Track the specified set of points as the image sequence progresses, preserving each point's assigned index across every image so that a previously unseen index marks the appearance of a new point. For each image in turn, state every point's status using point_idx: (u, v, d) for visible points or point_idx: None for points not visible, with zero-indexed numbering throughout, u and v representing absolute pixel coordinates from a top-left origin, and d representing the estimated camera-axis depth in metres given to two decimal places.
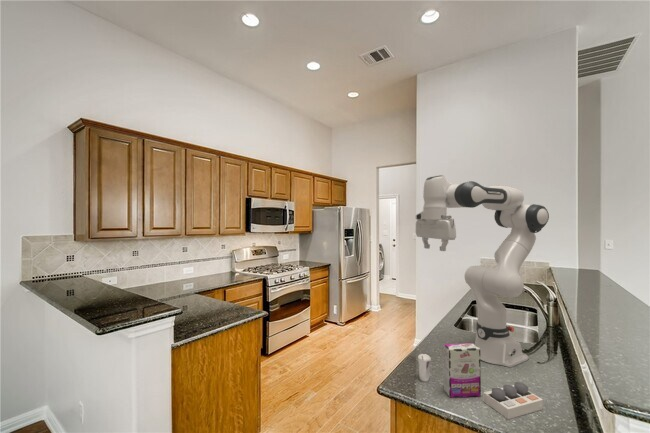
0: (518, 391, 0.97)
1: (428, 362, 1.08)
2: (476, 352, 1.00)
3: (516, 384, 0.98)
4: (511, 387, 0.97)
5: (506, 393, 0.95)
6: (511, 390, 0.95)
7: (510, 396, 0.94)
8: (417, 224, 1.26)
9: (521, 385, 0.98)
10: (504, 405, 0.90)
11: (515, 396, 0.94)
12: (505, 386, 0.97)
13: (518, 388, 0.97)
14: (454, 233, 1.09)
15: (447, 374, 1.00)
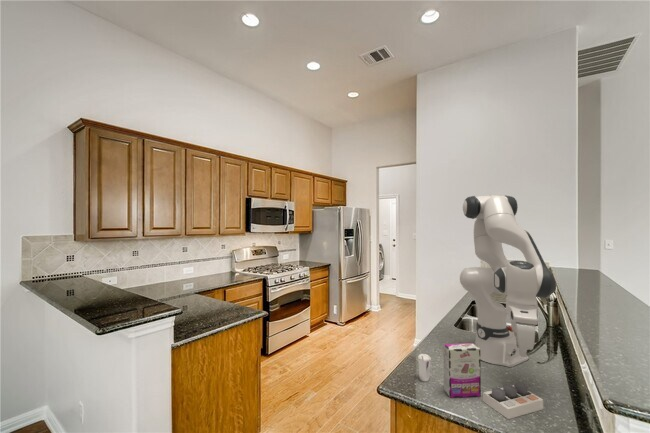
0: (518, 391, 0.97)
1: (428, 362, 1.08)
2: (476, 352, 1.00)
3: (516, 384, 0.98)
4: (511, 387, 0.97)
5: (506, 393, 0.95)
6: (511, 390, 0.95)
7: (510, 396, 0.94)
8: None
9: (521, 385, 0.98)
10: (504, 405, 0.90)
11: (515, 396, 0.94)
12: (505, 386, 0.97)
13: (518, 388, 0.97)
14: None
15: (447, 374, 1.00)
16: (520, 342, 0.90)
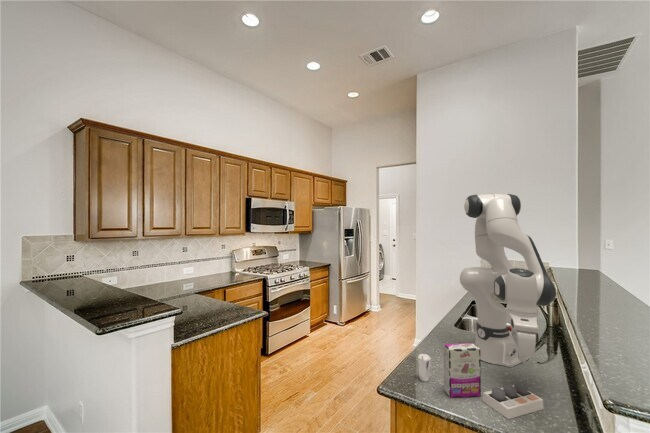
0: (518, 391, 0.97)
1: (428, 362, 1.08)
2: (476, 352, 1.00)
3: (516, 384, 0.98)
4: (511, 387, 0.97)
5: (506, 393, 0.95)
6: (511, 390, 0.95)
7: (510, 396, 0.94)
8: None
9: (521, 385, 0.98)
10: (504, 405, 0.90)
11: (515, 396, 0.94)
12: (505, 386, 0.97)
13: (518, 388, 0.97)
14: None
15: (447, 374, 1.00)
16: (521, 350, 0.89)
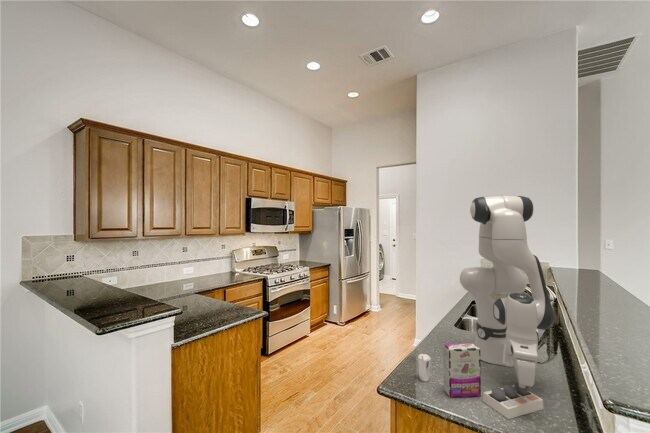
0: (518, 391, 0.97)
1: (428, 362, 1.08)
2: (476, 352, 1.00)
3: (516, 384, 0.98)
4: (511, 387, 0.97)
5: (506, 393, 0.95)
6: (511, 390, 0.95)
7: (510, 396, 0.94)
8: None
9: None
10: (504, 405, 0.90)
11: (515, 396, 0.94)
12: (505, 386, 0.97)
13: (518, 388, 0.97)
14: None
15: (447, 374, 1.00)
16: (520, 379, 0.89)
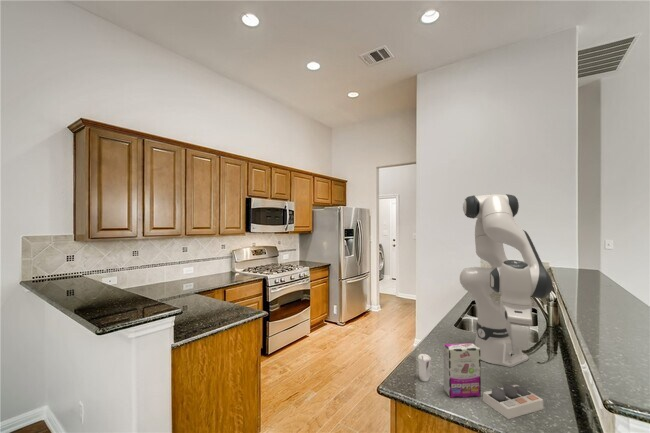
0: None
1: (428, 362, 1.08)
2: (476, 352, 1.00)
3: (516, 388, 0.98)
4: (511, 387, 0.97)
5: (506, 393, 0.95)
6: (511, 390, 0.95)
7: (510, 396, 0.94)
8: None
9: (521, 389, 0.98)
10: (504, 405, 0.90)
11: (515, 396, 0.94)
12: (505, 386, 0.97)
13: (518, 392, 0.97)
14: None
15: (447, 374, 1.00)
16: (514, 342, 0.88)
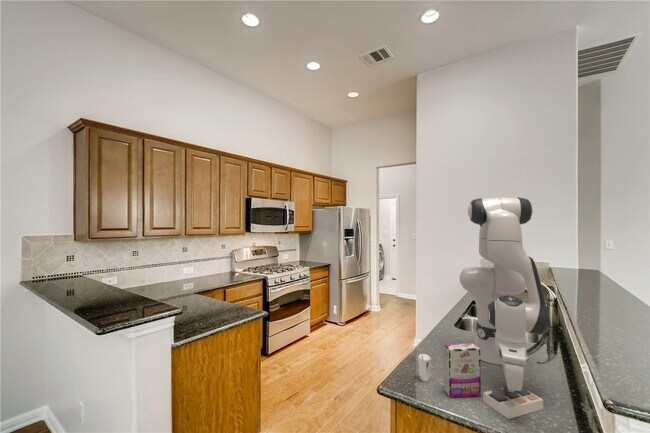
0: None
1: (428, 362, 1.08)
2: (476, 352, 1.00)
3: None
4: None
5: (506, 394, 0.95)
6: None
7: (510, 397, 0.94)
8: None
9: None
10: (504, 405, 0.90)
11: (515, 397, 0.94)
12: (505, 387, 0.97)
13: (518, 392, 0.97)
14: None
15: (447, 374, 1.00)
16: (508, 383, 0.88)
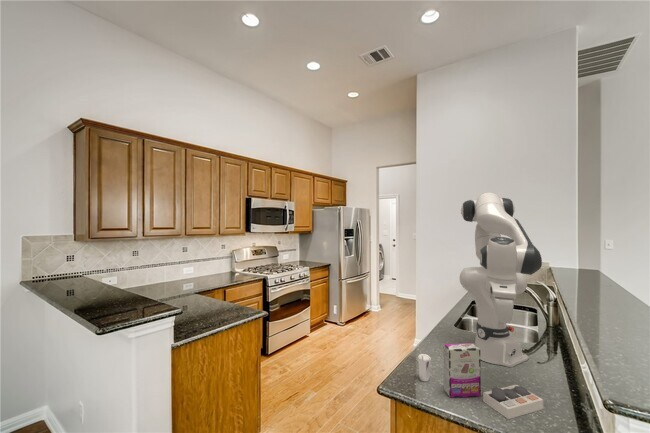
0: None
1: (428, 362, 1.08)
2: (476, 352, 1.00)
3: (516, 388, 0.98)
4: (511, 391, 0.97)
5: None
6: (511, 394, 0.95)
7: None
8: None
9: (521, 389, 0.98)
10: (504, 405, 0.90)
11: None
12: (505, 390, 0.97)
13: (518, 392, 0.97)
14: None
15: (447, 374, 1.00)
16: (498, 316, 0.90)
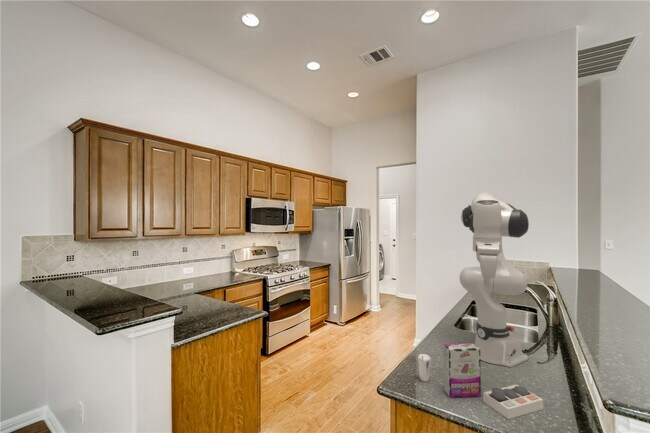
0: None
1: (428, 362, 1.08)
2: (476, 352, 1.00)
3: (516, 388, 0.98)
4: (511, 391, 0.97)
5: None
6: (511, 394, 0.95)
7: None
8: None
9: (521, 389, 0.98)
10: (504, 405, 0.90)
11: None
12: (505, 390, 0.97)
13: (518, 392, 0.97)
14: None
15: (447, 374, 1.00)
16: (483, 271, 0.93)
